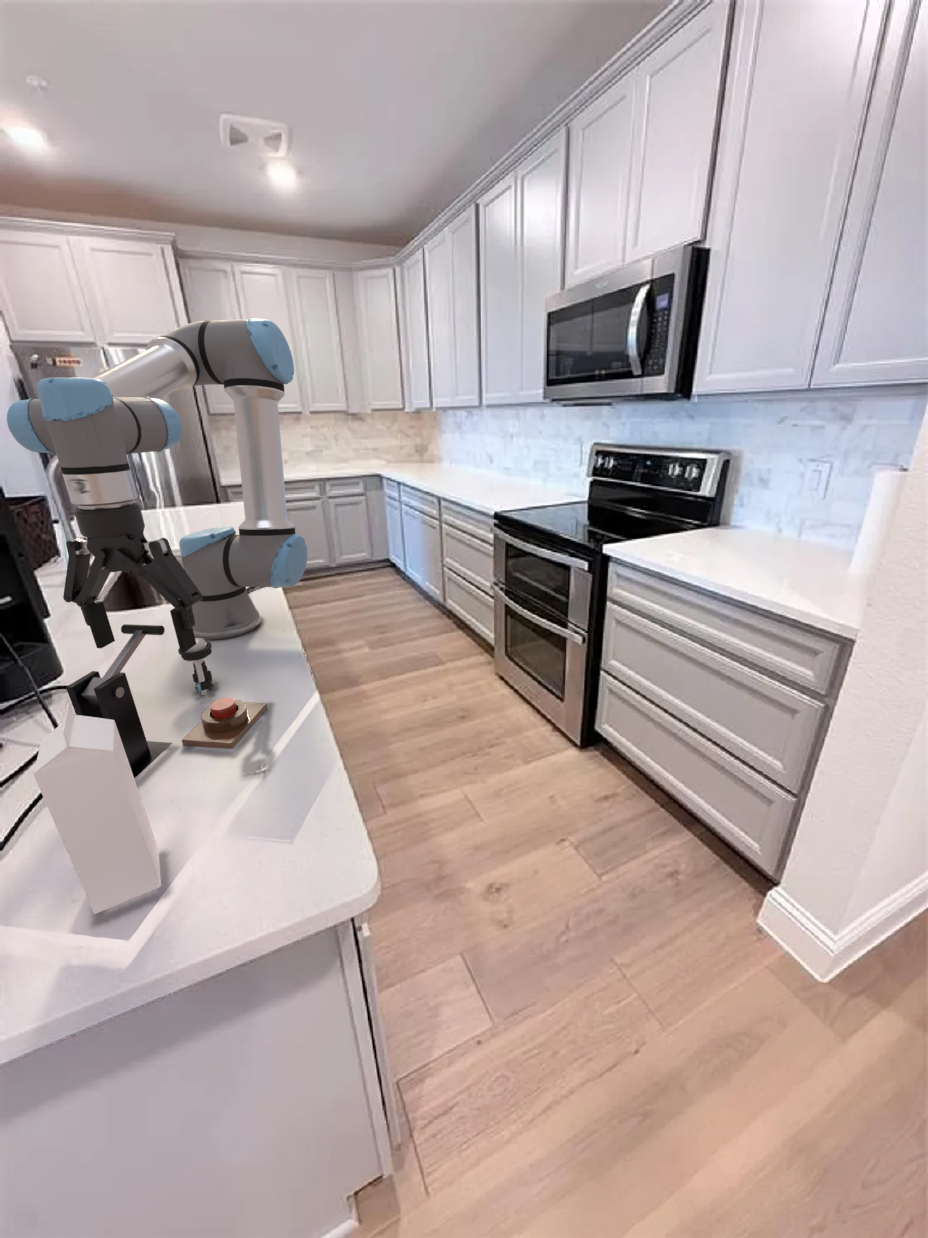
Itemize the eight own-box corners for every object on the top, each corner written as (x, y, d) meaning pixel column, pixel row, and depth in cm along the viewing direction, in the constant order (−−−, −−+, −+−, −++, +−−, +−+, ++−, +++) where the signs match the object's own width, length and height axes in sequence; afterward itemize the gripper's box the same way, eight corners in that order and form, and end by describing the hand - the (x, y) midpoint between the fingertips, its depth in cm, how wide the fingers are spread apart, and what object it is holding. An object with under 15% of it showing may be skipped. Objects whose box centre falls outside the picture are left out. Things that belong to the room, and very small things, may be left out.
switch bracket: (126, 745, 78) (98, 661, 73) (174, 749, 77) (149, 663, 72) (73, 791, 69) (35, 698, 64) (126, 795, 68) (93, 701, 63)
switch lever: (131, 630, 77) (122, 620, 76) (167, 632, 77) (159, 621, 75) (79, 703, 69) (67, 693, 67) (119, 706, 68) (109, 696, 66)
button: (220, 706, 82) (218, 696, 81) (241, 707, 81) (239, 698, 81) (207, 718, 78) (204, 709, 78) (229, 720, 78) (226, 710, 77)
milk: (161, 856, 59) (107, 691, 50) (164, 895, 54) (105, 721, 46) (98, 880, 56) (30, 710, 48) (95, 924, 51) (19, 743, 43)
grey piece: (221, 698, 91) (209, 648, 87) (188, 705, 89) (174, 654, 85) (221, 681, 96) (210, 633, 93) (190, 687, 95) (178, 639, 91)
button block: (224, 711, 87) (220, 691, 85) (268, 714, 86) (264, 693, 84) (184, 752, 77) (178, 729, 75) (234, 755, 76) (228, 733, 74)
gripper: (-2, 508, 66) (51, 653, 75) (173, 509, 63) (209, 660, 72) (48, 499, 73) (92, 633, 81) (208, 499, 70) (237, 638, 78)
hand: (147, 646), depth 77 cm, fingers open, 13 cm apart
